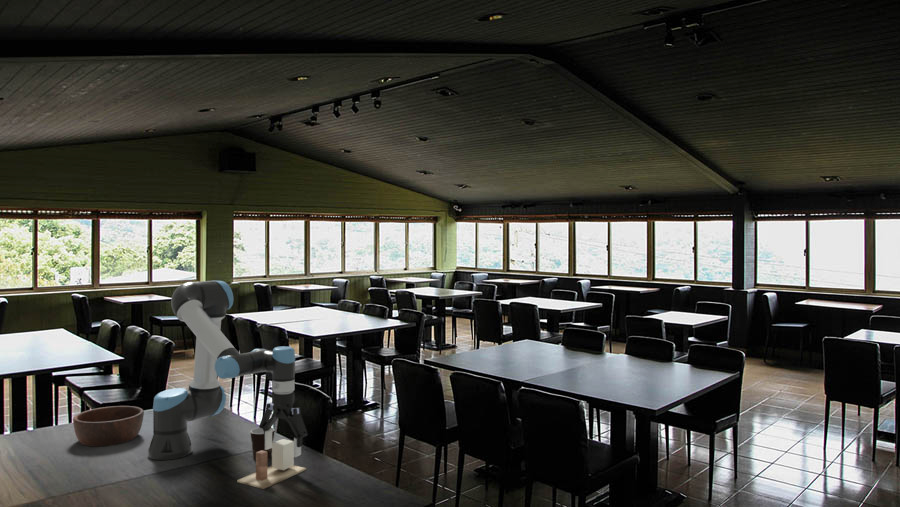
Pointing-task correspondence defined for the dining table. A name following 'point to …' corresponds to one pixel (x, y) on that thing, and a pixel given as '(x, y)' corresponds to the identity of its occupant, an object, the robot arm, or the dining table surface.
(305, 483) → the dining table surface
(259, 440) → the coffee mug
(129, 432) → the wooden bowl
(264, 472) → the stand
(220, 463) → the dining table surface
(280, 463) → the upright off-white block
